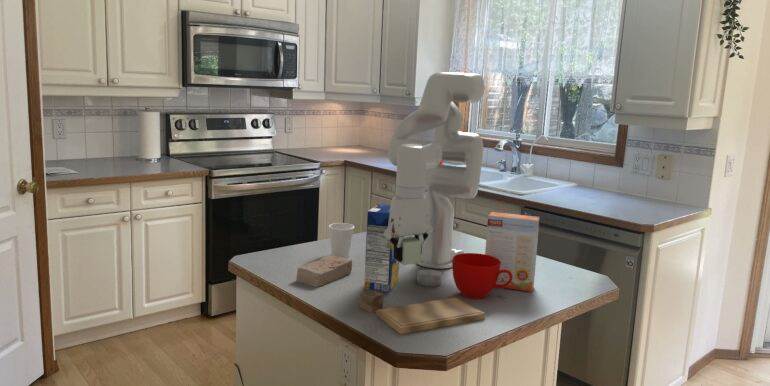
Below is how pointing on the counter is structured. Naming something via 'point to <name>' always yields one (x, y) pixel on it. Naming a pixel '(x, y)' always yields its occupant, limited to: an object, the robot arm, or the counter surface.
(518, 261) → the cracker box
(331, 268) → the brick
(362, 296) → the walnut block
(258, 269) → the counter surface
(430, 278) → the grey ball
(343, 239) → the dixie cup
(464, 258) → the ceramic cup
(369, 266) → the beverage box
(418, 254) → the sage block
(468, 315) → the cutting board
